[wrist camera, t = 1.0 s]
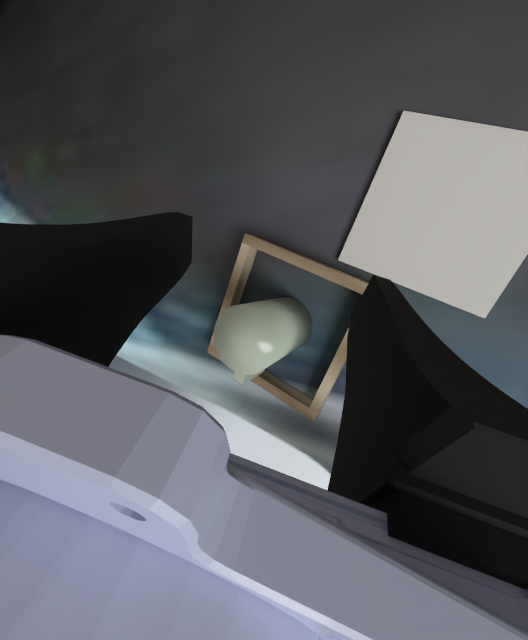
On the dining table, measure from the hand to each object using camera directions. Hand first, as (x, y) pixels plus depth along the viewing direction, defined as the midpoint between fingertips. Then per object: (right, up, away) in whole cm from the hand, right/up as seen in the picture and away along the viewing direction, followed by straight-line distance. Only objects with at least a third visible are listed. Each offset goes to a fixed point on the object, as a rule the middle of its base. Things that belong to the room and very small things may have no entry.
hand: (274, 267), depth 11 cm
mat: (+11, +5, +7) cm, 14 cm away
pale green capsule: (+2, -2, +13) cm, 14 cm away
